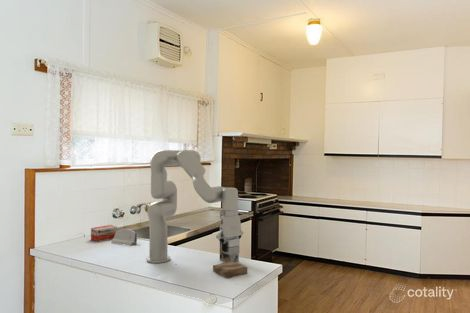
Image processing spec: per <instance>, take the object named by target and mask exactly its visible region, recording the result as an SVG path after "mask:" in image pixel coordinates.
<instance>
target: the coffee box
mask: <svg viewBox="0 0 470 313" xmlns="http://www.w3.org/2000/svg"><path fill="white" fill-rule="evenodd" d="M220 237H221V236H220ZM221 245H222V244H221V242H220V241H219V261H220V262H223V263H227V262H231V261H234V262H236V263H239V262H240V260H239V259H240V252H239V253H237V254H233V255H228V254H225V253H223V252H221Z"/></svg>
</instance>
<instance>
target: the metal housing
mask: <svg viewBox="0 0 470 313" xmlns="http://www.w3.org/2000/svg"><path fill="white" fill-rule="evenodd" d="M221 238H222V237H221ZM221 244H222V243H221ZM226 244H227V252H224V251H222V245H221V252H223V253H225V254H228V255H233V254H237V253H239V254H240V239H239V238H236V237H232V238H227V241H226Z"/></svg>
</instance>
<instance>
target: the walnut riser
mask: <svg viewBox="0 0 470 313" xmlns="http://www.w3.org/2000/svg"><path fill="white" fill-rule="evenodd" d="M212 272H213V273H214V274H216V275H219V276H221V277H223V278H225V279H231V278H234V277H239V276H244V275H247V274H248V266H246V265H242V264H240V263H239V262H237V263H236V262H234V261H231V262H227V263H226V262H223V263H218V264H213V265H212Z"/></svg>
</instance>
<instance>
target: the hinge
mask: <svg viewBox="0 0 470 313" xmlns="http://www.w3.org/2000/svg"><path fill="white" fill-rule="evenodd" d="M138 235H139V233H138V232H137V231H134V230H133V229H128V228H122V229H121V228H120V229H117V231H116V233H115V236H114V238H113V239H111V244H116V243H118V245H123V244H125V245H124V246H132V245H136V244H137V241H138Z"/></svg>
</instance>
